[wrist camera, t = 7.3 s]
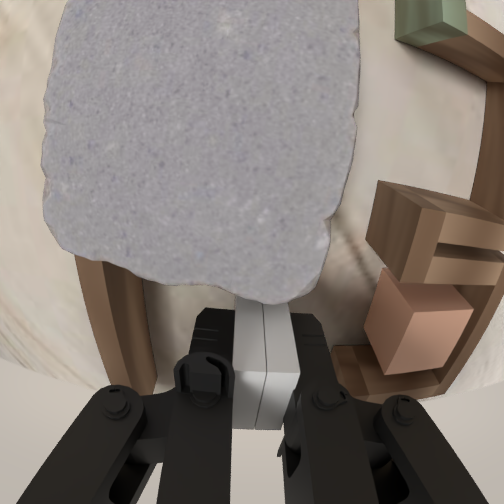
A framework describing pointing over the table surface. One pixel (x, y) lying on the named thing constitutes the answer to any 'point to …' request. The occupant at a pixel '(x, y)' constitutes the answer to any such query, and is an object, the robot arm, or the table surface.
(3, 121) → the table surface
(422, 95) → the table surface
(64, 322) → the table surface
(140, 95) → the decorative stone
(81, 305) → the table surface
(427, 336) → the cube
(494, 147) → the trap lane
